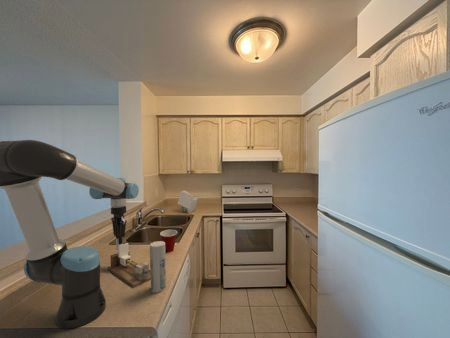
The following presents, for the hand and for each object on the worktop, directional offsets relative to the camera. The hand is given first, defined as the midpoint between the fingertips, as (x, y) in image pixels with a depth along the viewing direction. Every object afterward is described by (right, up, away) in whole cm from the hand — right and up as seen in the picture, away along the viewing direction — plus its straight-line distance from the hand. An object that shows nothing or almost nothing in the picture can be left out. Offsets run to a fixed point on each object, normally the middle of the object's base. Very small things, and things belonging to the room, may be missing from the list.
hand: (119, 249), depth 114 cm
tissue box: (+14, -7, +133) cm, 134 cm away
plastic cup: (+22, -9, +20) cm, 31 cm away
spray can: (+28, -9, -21) cm, 37 cm away
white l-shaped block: (+5, -6, -4) cm, 9 cm away
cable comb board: (+10, -9, -7) cm, 16 cm away
